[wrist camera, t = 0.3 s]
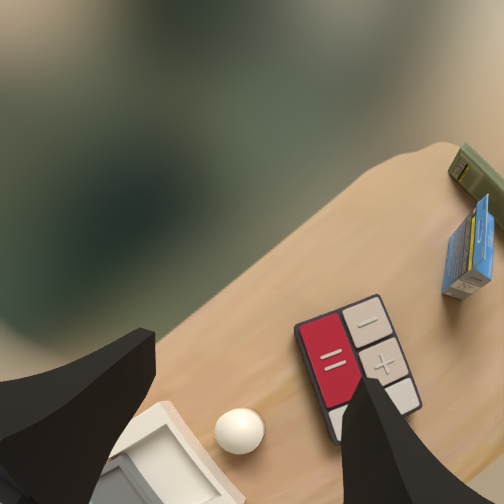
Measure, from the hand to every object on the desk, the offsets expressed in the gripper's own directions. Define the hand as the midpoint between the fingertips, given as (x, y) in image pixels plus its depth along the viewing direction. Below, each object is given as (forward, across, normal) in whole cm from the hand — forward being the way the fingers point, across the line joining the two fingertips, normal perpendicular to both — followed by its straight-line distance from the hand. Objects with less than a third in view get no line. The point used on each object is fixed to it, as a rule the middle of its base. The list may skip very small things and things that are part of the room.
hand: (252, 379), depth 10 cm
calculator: (+23, -12, +16) cm, 30 cm away
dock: (+11, +8, +31) cm, 34 cm away
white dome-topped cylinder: (+17, 0, +24) cm, 29 cm away
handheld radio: (+37, -34, -4) cm, 50 cm away
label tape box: (+32, -24, +4) cm, 40 cm away
